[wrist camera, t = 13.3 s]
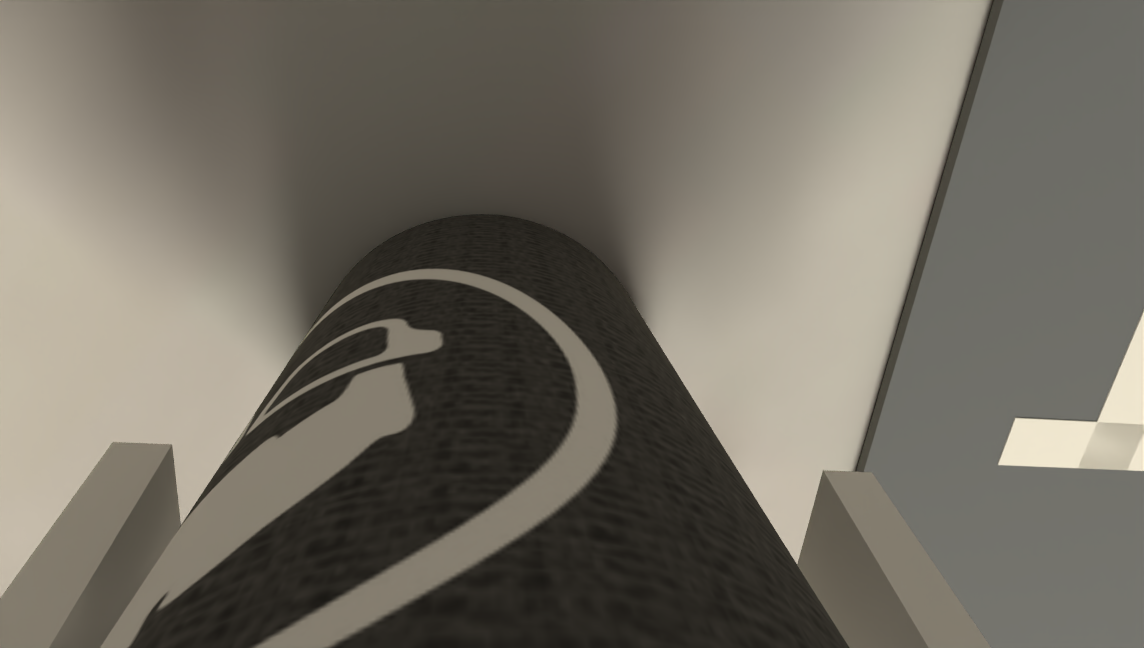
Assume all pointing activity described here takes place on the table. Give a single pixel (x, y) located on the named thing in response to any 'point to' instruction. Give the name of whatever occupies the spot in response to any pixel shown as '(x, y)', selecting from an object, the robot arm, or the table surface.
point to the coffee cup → (477, 477)
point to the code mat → (1031, 338)
